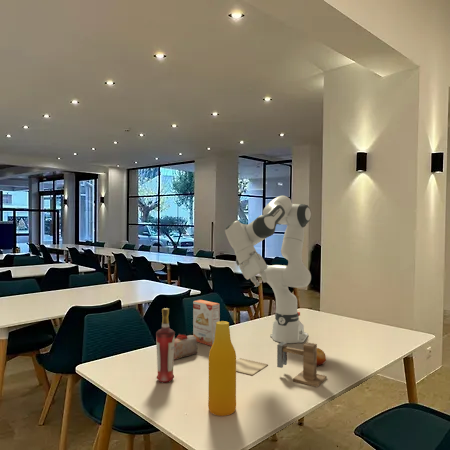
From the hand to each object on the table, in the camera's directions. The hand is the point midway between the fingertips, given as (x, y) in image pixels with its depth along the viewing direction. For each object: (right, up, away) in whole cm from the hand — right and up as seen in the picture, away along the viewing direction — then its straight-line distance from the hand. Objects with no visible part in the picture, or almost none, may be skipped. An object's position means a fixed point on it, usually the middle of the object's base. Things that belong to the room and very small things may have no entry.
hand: (261, 284), depth 174 cm
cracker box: (-26, -35, +31) cm, 53 cm away
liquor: (-39, -35, -17) cm, 56 cm away
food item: (-36, -35, +12) cm, 52 cm away
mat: (-7, -35, -2) cm, 36 cm away
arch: (+7, -32, -9) cm, 34 cm away
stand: (+14, -35, -13) cm, 40 cm away
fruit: (+24, -36, +1) cm, 43 cm away
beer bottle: (-17, -36, -41) cm, 57 cm away
